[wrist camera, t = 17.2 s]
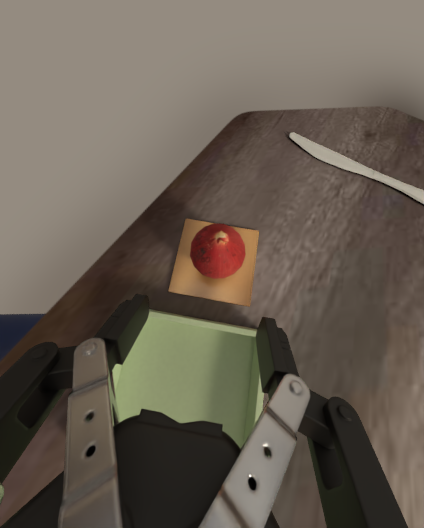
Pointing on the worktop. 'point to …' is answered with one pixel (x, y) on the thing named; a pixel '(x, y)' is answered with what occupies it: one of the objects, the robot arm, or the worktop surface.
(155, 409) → the tray
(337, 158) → the butter knife
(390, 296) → the worktop surface
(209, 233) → the red rounded piece
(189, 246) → the cork mat
